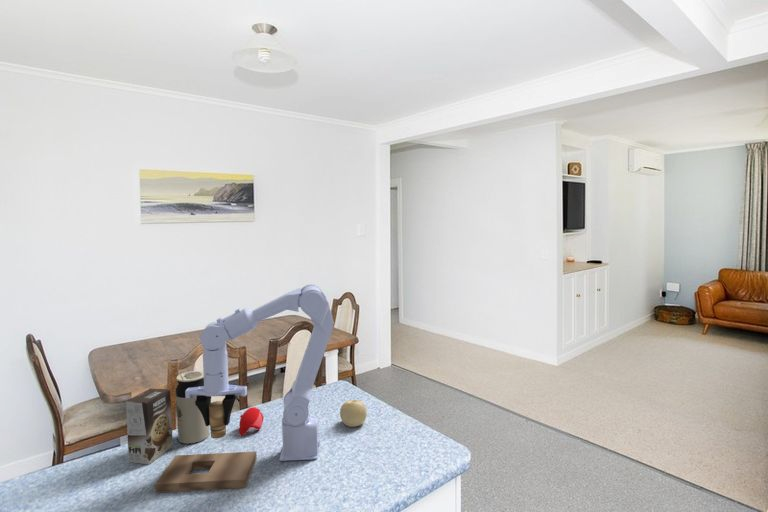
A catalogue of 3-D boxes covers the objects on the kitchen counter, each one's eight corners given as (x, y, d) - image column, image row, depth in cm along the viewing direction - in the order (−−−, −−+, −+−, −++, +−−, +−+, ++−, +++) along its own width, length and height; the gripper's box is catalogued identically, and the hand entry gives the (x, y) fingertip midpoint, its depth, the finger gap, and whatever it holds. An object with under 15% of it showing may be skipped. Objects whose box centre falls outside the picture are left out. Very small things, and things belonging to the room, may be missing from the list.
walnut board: (256, 458, 112) (256, 451, 112) (245, 487, 100) (245, 479, 100) (175, 463, 110) (175, 455, 110) (155, 492, 98) (154, 484, 98)
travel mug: (208, 428, 128) (205, 368, 127) (210, 440, 121) (207, 377, 120) (178, 434, 125) (175, 373, 123) (178, 447, 118) (175, 382, 116)
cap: (252, 410, 133) (236, 406, 128) (266, 407, 130) (251, 403, 126) (248, 438, 128) (232, 435, 124) (263, 436, 126) (247, 432, 121)
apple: (354, 432, 125) (341, 408, 125) (344, 432, 131) (331, 409, 132) (375, 416, 129) (362, 393, 130) (364, 417, 136) (352, 395, 136)
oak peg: (228, 430, 112) (227, 400, 111) (223, 438, 108) (222, 407, 107) (213, 431, 112) (211, 401, 111) (207, 439, 108) (206, 407, 107)
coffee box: (150, 465, 109) (146, 402, 108) (127, 462, 111) (124, 400, 109) (174, 446, 118) (171, 388, 117) (153, 444, 120) (150, 387, 118)
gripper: (249, 365, 113) (250, 415, 114) (191, 366, 112) (194, 417, 113) (242, 374, 106) (244, 428, 107) (181, 376, 105) (183, 430, 106)
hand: (217, 423), depth 110 cm, fingers closed on oak peg, 4 cm apart
